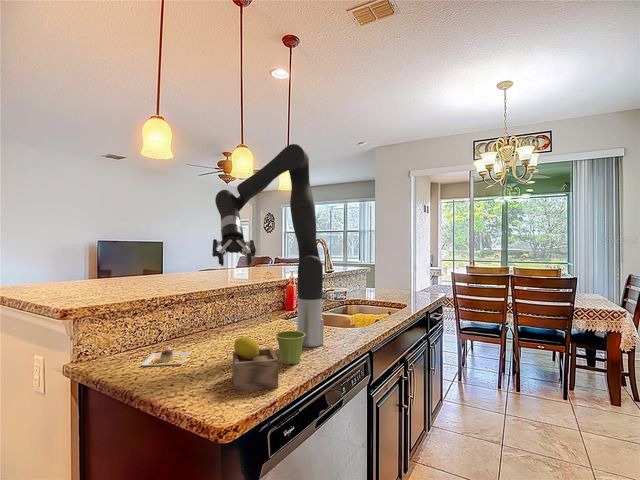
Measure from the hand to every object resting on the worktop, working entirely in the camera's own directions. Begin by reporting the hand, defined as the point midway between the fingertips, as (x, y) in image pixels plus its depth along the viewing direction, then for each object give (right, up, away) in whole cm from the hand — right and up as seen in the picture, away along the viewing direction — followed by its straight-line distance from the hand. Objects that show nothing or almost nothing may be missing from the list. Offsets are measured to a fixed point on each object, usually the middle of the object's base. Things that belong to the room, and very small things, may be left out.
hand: (235, 264), depth 114 cm
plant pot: (+18, -31, -4) cm, 36 cm away
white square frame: (-21, -31, -4) cm, 38 cm away
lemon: (+11, -23, -21) cm, 33 cm away
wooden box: (+10, -31, -21) cm, 38 cm away
